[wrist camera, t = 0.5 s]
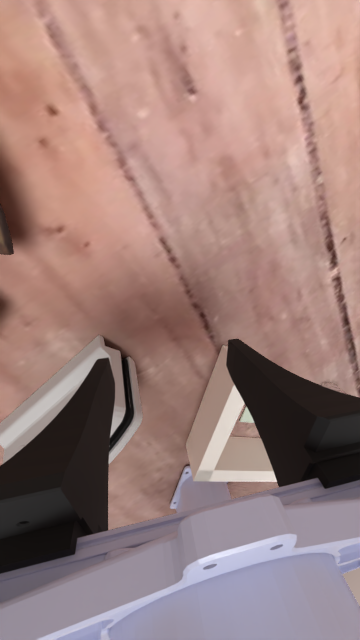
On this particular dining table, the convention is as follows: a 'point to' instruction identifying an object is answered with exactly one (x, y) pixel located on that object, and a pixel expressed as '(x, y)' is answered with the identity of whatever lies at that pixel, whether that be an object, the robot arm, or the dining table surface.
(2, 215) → the brown frying pan
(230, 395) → the corner wall
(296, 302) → the dining table surface
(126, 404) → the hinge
